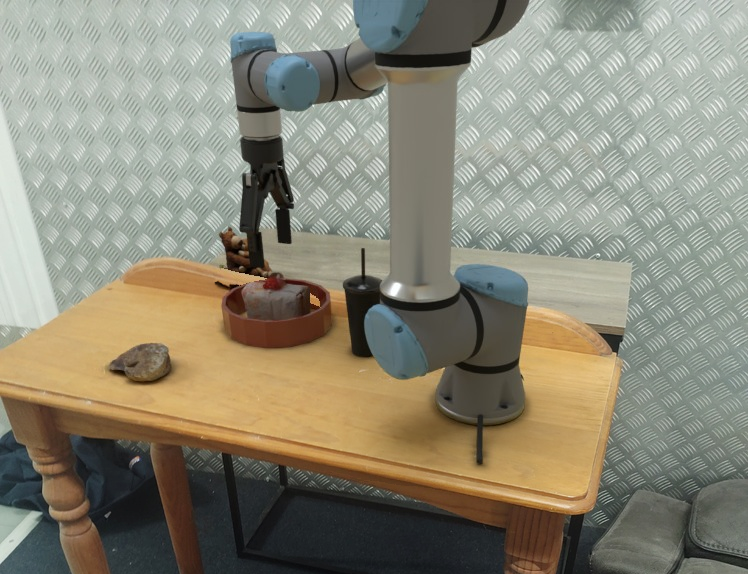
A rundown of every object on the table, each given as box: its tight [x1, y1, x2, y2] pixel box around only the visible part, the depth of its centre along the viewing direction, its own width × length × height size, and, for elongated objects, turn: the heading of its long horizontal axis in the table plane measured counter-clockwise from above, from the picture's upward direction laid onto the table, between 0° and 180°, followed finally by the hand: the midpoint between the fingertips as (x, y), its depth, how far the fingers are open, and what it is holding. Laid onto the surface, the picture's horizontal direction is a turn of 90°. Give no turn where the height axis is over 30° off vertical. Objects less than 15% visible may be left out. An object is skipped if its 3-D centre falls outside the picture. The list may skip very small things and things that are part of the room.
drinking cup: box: [342, 247, 384, 358], centre depth 133 cm, size 8×8×20 cm
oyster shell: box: [108, 342, 172, 382], centre depth 132 cm, size 10×12×5 cm
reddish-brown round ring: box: [220, 277, 333, 349], centre depth 147 cm, size 22×22×6 cm
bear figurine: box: [217, 226, 285, 278], centre depth 164 cm, size 14×15×12 cm
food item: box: [241, 274, 312, 320], centre depth 146 cm, size 14×8×10 cm, turn 75°
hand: (271, 254), depth 140 cm, fingers open, 13 cm apart
